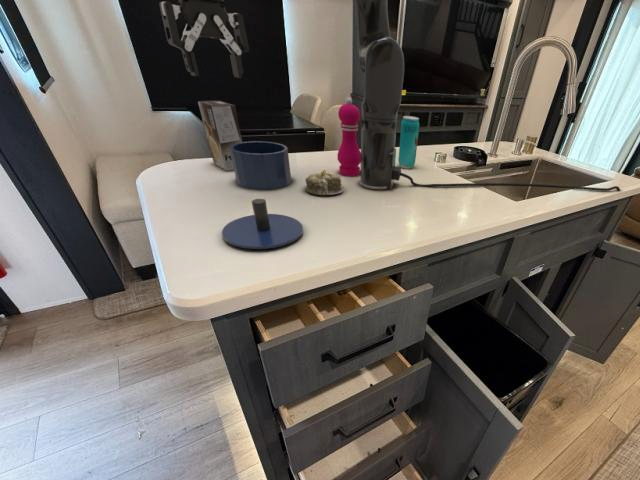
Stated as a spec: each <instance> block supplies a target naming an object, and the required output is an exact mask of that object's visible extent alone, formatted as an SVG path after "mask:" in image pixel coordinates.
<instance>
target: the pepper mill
mask: <svg viewBox="0 0 640 480" xmlns="http://www.w3.org/2000/svg"><path fill="white" fill-rule="evenodd" d="M337 115H338V119H339V120H340V122H341V123H340V130H341V133H342V137H341V138H342V139H341V143H340V146H339V149H338V151H337V157H336V158H337V162H338V163H339V164H340V165H339V167H338V169H339V174H340V175H342V176H346V177H347V176H348V177H356V176H358V175H359V176H360V175H361V173H360V169H361V166H359V165H361V149H360V147H359V145H358V141H357V131H358V130H359V124H358V122H359V121H360V120H361V111H360V109H359V107H357V106H356V105H355V104H353V98H352V97H350V96H348V97H346V98H345V103H344V104H342V105H341V106H340V107H339V108H338V113H337Z"/></svg>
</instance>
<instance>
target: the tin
mask: <svg viewBox="0 0 640 480" xmlns="http://www.w3.org/2000/svg"><path fill="white" fill-rule="evenodd" d="M230 153H231V157H232V162H233V167H234V170H233V171H234V175H235V179H236V182H237V184H238V185H239V186H240V187H243V188H244V189H249V190H255V191H256V190H257V191H269V190H277V189H282V188H285V187H288V186H290V185H291V184H292V175H291V164H290V156H289V147H288V146H287V145H285V144H282V143H278V142H272V141H261V140H260V141H259V140H256V141H255V140H254V141H242V143H236V144H234V145H231V146H230Z"/></svg>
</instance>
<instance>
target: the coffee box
mask: <svg viewBox="0 0 640 480" xmlns="http://www.w3.org/2000/svg"><path fill="white" fill-rule="evenodd" d="M197 104H198V108H199V111H200V115H201V119H202V123H203V127H204V130H205V134H206V138H207V139H206V140H207V142H208V147H209V150H210V153H211V154H210V155H211V158H212V162H213V164H214V165H215V166H217V167H219V168H221V169H222V170H224V171H226V172H227V171H228V172H230V171H234V167H233V162H232V157H231V153H230V146H231V145H234V144H236V143H242V142H243V140H242V135H241V129H240V123H239V118H238V114H237V108H236V105H235V104H232V103H228V102H225V101H223V100H199V101H197Z"/></svg>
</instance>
